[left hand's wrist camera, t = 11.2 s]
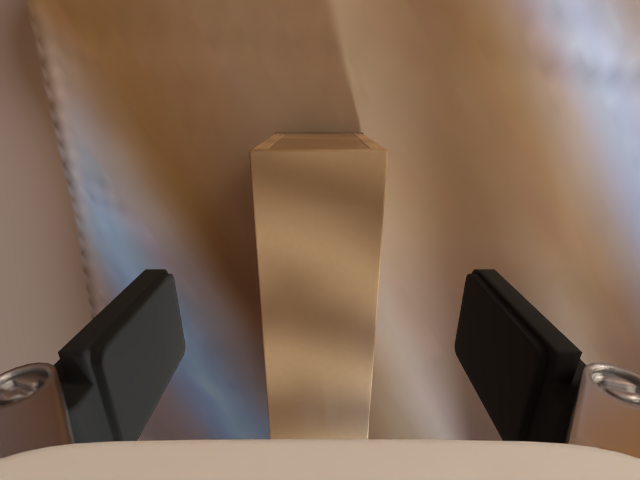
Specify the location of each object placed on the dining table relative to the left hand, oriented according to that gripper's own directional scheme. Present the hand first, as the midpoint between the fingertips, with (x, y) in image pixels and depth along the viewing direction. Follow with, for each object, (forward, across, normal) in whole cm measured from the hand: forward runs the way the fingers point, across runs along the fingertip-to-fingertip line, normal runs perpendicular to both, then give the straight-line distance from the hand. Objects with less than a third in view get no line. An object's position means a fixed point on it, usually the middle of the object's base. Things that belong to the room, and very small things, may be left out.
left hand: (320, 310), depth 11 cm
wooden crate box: (+18, 0, -6) cm, 19 cm away
